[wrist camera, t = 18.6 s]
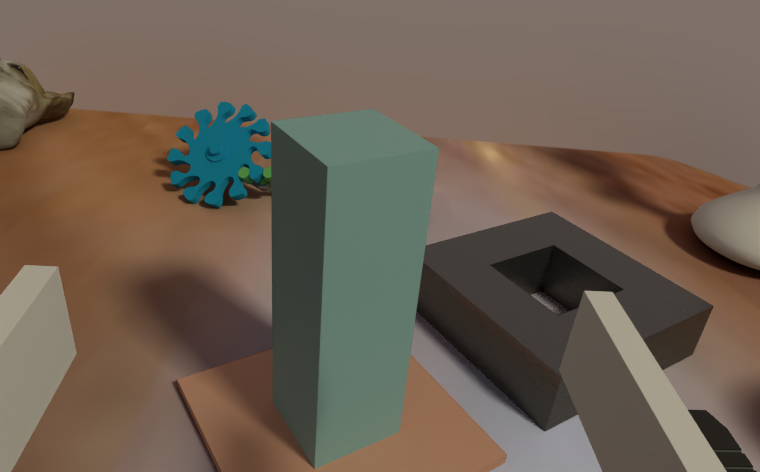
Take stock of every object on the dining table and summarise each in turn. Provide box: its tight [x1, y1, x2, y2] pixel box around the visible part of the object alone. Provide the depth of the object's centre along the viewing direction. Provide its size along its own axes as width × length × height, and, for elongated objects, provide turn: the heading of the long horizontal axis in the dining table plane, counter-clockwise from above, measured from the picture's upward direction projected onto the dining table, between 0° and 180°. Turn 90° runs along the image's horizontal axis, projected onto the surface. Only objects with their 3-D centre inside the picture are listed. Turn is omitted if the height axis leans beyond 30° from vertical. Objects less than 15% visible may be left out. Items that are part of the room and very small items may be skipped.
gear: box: [167, 102, 272, 208], centre depth 56 cm, size 11×6×10 cm
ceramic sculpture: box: [0, 59, 74, 150], centre depth 62 cm, size 11×9×15 cm
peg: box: [271, 109, 439, 469], centre depth 29 cm, size 5×5×16 cm
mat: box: [177, 349, 507, 472], centre depth 33 cm, size 13×13×1 cm
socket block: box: [417, 212, 713, 431], centre depth 41 cm, size 14×14×4 cm
